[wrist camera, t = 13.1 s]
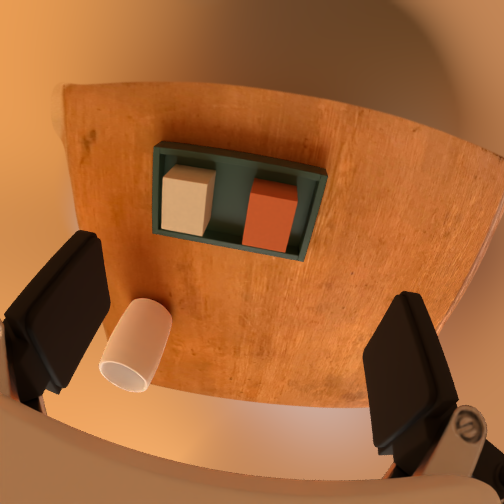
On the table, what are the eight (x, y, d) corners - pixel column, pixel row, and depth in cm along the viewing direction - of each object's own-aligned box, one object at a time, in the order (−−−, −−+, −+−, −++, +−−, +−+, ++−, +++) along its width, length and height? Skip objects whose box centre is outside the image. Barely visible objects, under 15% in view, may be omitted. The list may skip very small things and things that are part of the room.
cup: (133, 283, 48) (96, 350, 36) (181, 304, 49) (154, 375, 38) (127, 315, 53) (95, 378, 41) (169, 334, 54) (145, 400, 42)
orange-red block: (296, 185, 36) (298, 201, 32) (285, 233, 40) (285, 252, 36) (254, 177, 36) (250, 192, 32) (246, 225, 40) (241, 244, 36)
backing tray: (325, 168, 35) (328, 176, 33) (302, 250, 42) (303, 262, 39) (161, 140, 35) (153, 146, 33) (158, 223, 42) (152, 233, 39)
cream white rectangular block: (216, 170, 36) (207, 184, 32) (210, 218, 40) (202, 236, 36) (175, 163, 36) (162, 177, 32) (173, 211, 40) (161, 228, 36)
